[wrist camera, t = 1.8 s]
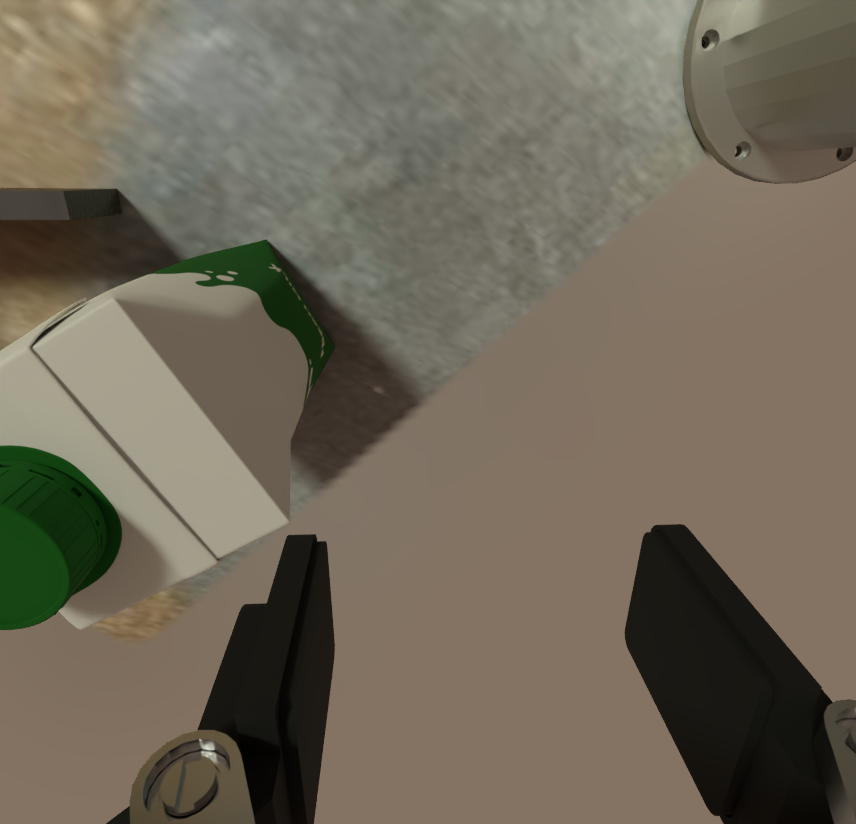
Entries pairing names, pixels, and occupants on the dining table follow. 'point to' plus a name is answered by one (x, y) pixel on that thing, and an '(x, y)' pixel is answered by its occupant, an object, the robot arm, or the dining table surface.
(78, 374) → the soya milk
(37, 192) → the bracket
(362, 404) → the dining table surface
